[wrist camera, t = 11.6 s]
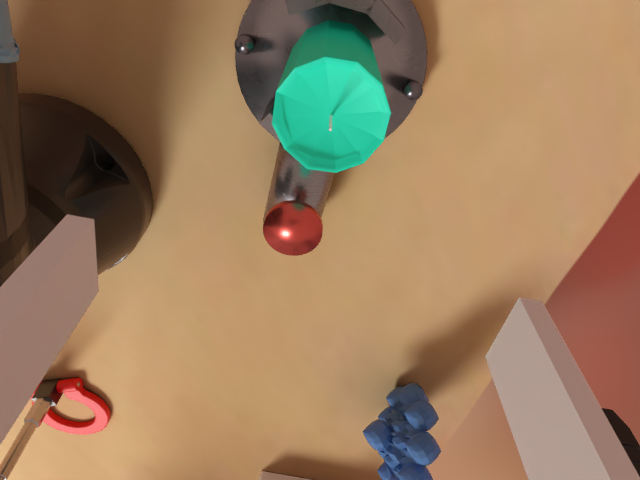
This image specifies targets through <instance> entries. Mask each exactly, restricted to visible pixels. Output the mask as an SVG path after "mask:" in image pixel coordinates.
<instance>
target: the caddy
mask: <svg viewBox="0 0 640 480" xmlns="http://www.w3.org/2000/svg"><path fill="white" fill-rule="evenodd" d="M259 480H311V479H305V478H299V477H294V476H288V475H282V474H277V473H271V472H265V471H261V474H260V477H259Z"/></svg>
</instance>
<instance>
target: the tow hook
mask: <svg viewBox="0 0 640 480" xmlns="http://www.w3.org/2000/svg"><path fill="white" fill-rule="evenodd" d="M63 393H64V394H65V395H66V396H67V398H69V399H71V400H75V401H78V402H81V403H83V404H85V405H86V406H88V407H89V408H91V410H92V411H93V412H94V414H95V419H93V420H91V421H89V422H73V421H69V420H66V419H64V418H62V417H59V416H58V415H56V414H55V413H54V412H53V411H52V410H51V409H50V407H51V406H56V405H57V403H58V401H59V399H60V397H61V396H62V394H63ZM31 399H32V401H33V403H32V407H31V409H30V411H29V412H28V414H27V416H26V417H25V419H24V425H23V427H22V429H21V430H20V432H19V434H18V435H17V437H16V439H15V441H14V442H13V444H12V446H11V447H10V449H9V451H8V452H7V454H6V456H5V458H4V459H3V461H2V463H1V464H0V480H7V479H8V477H9V475H10V473H11V472H12V470H13V468H14V466H15V464H16V463H17V461H18V459H19V457H20V456H21V454H22V452H23V450H24V448H25V447H26V445H27V443H28V441H29V440H30V438H31V436H32V434H33V432H34V431H35V429H36V428H37V427H39V426H40V425H41V423H42V421H43V422H44V423H46V424H47V425H49V426H51V427H53V428H55V429H57V430H60V431H64V432H67V433H72V434H92V433H96V432H99V431H101V430H103V429H104V428H105V427H106V426H107V424H108V422H109V420H110V410H109V408H108V406H107V405H106V404H105V402H104V401H103V400H102V399H100V398H99V397H98V396H96V395H95V394H93V393H91V392H89V391H87V390H85V389H84V388H83V381H82V379H81V378H73V379H65V380H61V379H58V380H50V381H44V382H42V383H40V384H39V385H38V387H37V388H36V390H35V391H34V393H33V394H32V396H31Z"/></svg>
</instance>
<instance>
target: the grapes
mask: <svg viewBox="0 0 640 480" xmlns="http://www.w3.org/2000/svg"><path fill="white" fill-rule="evenodd" d="M386 398H387V400H388V402H389V404H390V407H387V408H386V409H385V410H384V411H382V412H381V414H380V415H379V416H378V418H379V419H378V420H375V421H373V422H372V423H371V424H370V425H368V426H367V427H366V429H365V430H364V431H363V433H364V435H365V437H366V439H367V441H368V443H369V444H370V445H371V446H372V447H373V448H374V449H375V450H377V451H378V452H379V454H380V455H381V457H382V458H383V459H384V461H385V462H384V463H383V464H382V465H381V466H380V467H379V469H378V470H377V471H378V473H379V475H380V477H381V479H382V480H433V479H432V476H431V474H430V473H429V471H428V469H427V468H426V467H425V466H426V465H429V464H431V463H432V462H433V461H434V460H435V459H436V458H437V457H438V455H439V454H440V452H441V450H440V448H439V445H438V444H437V442H436V440H435V439H434V437H433V436H431V435H430V434H429V433H428V432H426V431H428V430H430V429H431V428H432V427H433V426H434V425H435V424H436V422H437V421H438V419H439V418H438V416H437V413H436V412H435V410H434V408H433V407H432V405H431V404H430V403H428V401H429V400H428V398H427V395H426V394H425V392H424V390H423V389H422V388H421V387H420V386H419V385H418V384H416V383H410V384H407V385H405V386H404V387H402V386H400V387H398V388H395V389H394V390H393V391H392V392H391V393H390V394H389V395H388V396H387V397H386Z"/></svg>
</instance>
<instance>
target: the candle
mask: <svg viewBox="0 0 640 480" xmlns="http://www.w3.org/2000/svg"><path fill="white" fill-rule="evenodd" d="M390 115H391V111H390V107H389V104H388V100H387V96H386V93H385V89H384V86H383V82H382V79H381V75H380V72H379V68H378V64H377V61H376V58H375V54H374V51H373V48H372V45H371V41H370V40H369V39H368V38H367V37H366V36H365V35H364V34H363V33H362V32H360V31H359V30H358V29H357V28H356V27H355V26H354V25H353V24H349V23H343V22H337V21H332V20H328V21H325V22H323V23H320V24H318V25H315V26H313V27H311V28H308V29H306V31H305V32H304V33H303V35H302V36H301V37H300V39H299V40H298V42H297V43H296V44H295V46H294V47H293V48H292V51H291V53H290V56H289V59H288V61H287V64H286V66H285V69H284V72H283V74H282V77H281V79H280V82H279V85H278V87H277V90H276V94H275V102H274V110H273V118H272V125H273V127H274V129H275V131H276V133H277V135H278V137H279V139H280V141H281V143H282V145H283V147H284V149H285V150H286V151H287V152H288V153H289V154H291V155H292V156H293V157H294V158H295V159H296V160H297V161H299V162H300V163H301V164H302V165H303V166H304V167H305V168H307V169H311V170H318V171H326V172H334V173H337V172H340V171H343V170H346V169H348V168H351V167H354V166H357V165H360V164H363V163H364V162H365V161H366V160H367V159H368V158H369V157H370V156H371V154H372V153H373V152H374V151H375V150H376V149H377V148H378V147H379V146H380V144H381V143H382V142H383V141H384V138H385V134H386V130H387V126H388V122H389V119H390Z"/></svg>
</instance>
